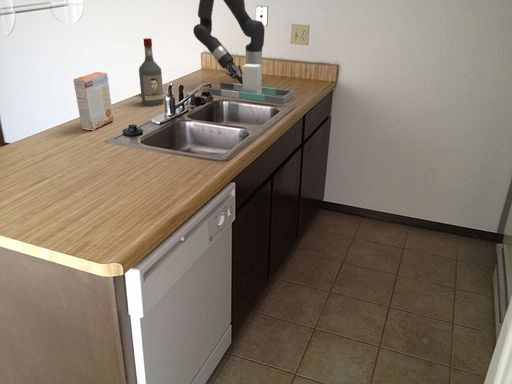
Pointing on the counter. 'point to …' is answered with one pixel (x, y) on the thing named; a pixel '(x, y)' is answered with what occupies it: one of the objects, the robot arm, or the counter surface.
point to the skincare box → (251, 78)
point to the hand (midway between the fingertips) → (244, 83)
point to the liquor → (150, 78)
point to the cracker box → (93, 100)
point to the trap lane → (279, 94)
